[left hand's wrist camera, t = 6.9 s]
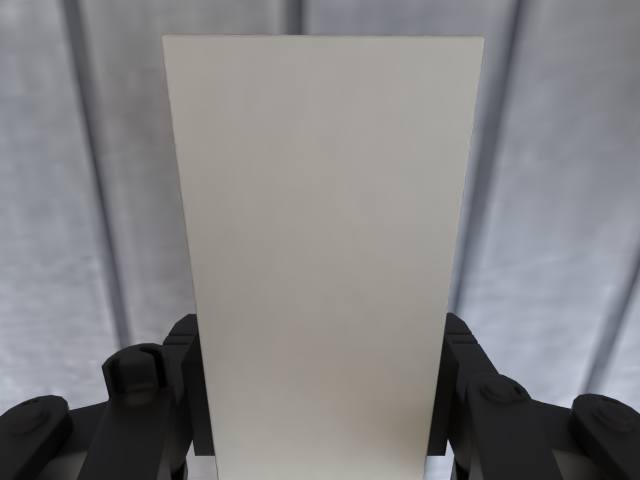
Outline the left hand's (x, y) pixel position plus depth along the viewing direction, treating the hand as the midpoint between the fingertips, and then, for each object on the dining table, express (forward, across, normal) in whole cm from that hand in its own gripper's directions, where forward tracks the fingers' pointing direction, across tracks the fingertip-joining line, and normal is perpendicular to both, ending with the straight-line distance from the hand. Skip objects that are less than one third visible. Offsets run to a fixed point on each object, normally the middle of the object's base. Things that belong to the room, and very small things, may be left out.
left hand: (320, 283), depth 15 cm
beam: (+1, 0, -26) cm, 26 cm away
